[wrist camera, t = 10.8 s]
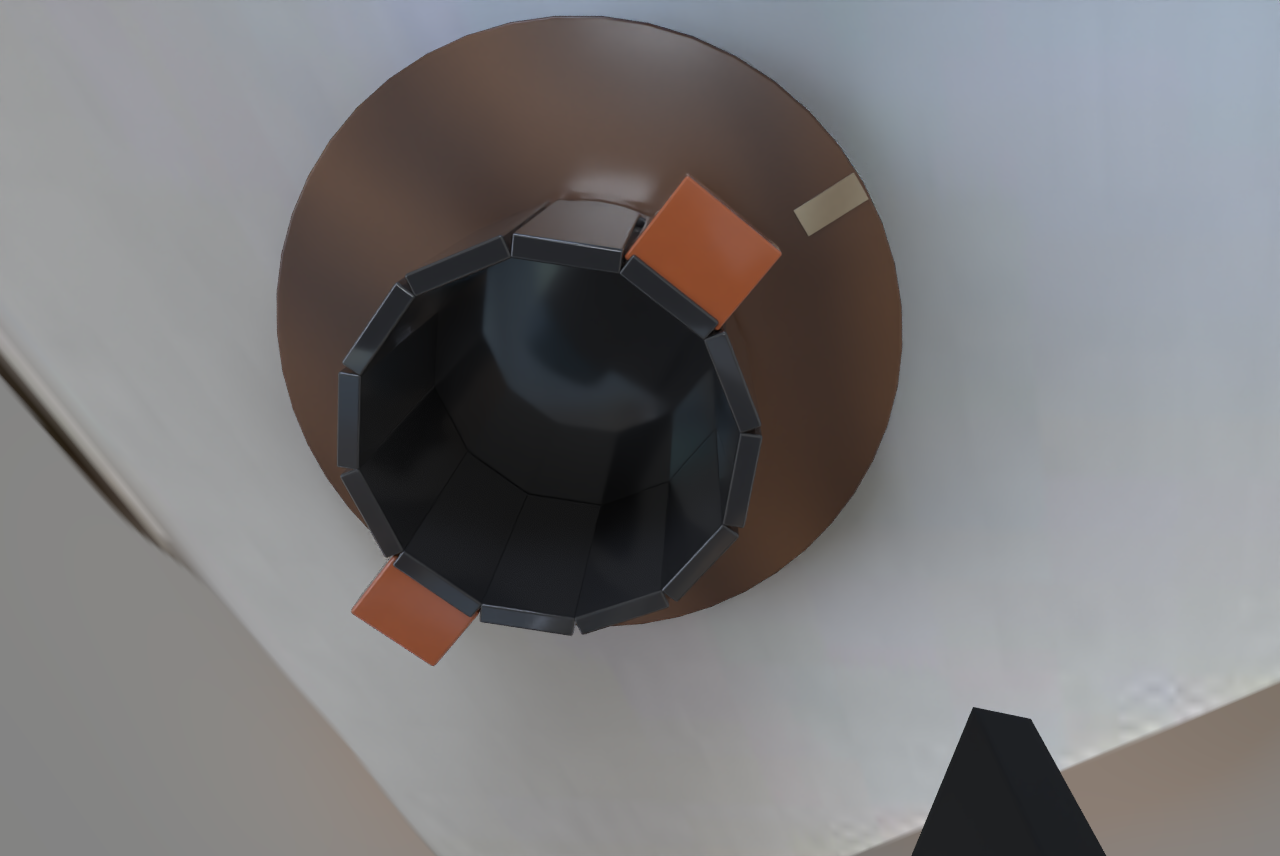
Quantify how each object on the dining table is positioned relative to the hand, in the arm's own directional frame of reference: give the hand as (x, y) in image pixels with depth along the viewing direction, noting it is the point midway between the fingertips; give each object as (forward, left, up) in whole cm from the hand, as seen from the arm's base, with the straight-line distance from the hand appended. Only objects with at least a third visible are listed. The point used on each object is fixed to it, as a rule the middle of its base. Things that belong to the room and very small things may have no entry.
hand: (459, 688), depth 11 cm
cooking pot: (0, 0, -15) cm, 15 cm away
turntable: (0, 0, -16) cm, 16 cm away
